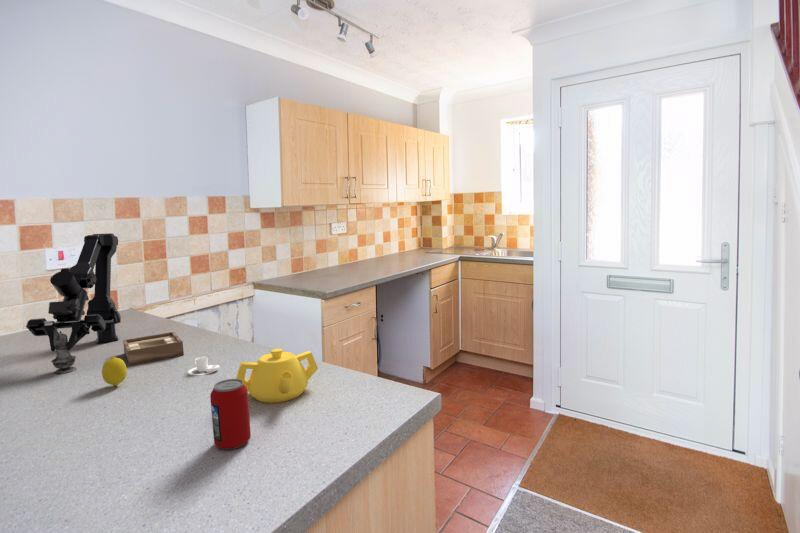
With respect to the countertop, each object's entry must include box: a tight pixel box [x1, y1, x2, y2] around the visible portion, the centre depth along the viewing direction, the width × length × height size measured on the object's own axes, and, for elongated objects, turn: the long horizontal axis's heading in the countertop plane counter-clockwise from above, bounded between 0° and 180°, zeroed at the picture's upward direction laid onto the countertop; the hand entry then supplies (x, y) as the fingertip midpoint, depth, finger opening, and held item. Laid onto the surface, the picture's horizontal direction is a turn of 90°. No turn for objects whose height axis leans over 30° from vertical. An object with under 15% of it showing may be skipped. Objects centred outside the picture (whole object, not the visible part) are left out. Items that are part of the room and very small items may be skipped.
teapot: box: [235, 348, 319, 404], centre depth 109 cm, size 20×18×11 cm
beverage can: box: [209, 378, 252, 450], centre depth 87 cm, size 7×7×12 cm
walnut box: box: [122, 331, 184, 367], centre depth 145 cm, size 15×15×4 cm
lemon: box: [101, 356, 128, 387], centre depth 118 cm, size 6×6×8 cm
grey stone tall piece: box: [50, 330, 77, 375], centre depth 131 cm, size 6×6×12 cm
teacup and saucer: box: [187, 355, 221, 376], centre depth 129 cm, size 9×8×4 cm
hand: (60, 350), depth 130 cm, fingers closed on grey stone tall piece, 4 cm apart
